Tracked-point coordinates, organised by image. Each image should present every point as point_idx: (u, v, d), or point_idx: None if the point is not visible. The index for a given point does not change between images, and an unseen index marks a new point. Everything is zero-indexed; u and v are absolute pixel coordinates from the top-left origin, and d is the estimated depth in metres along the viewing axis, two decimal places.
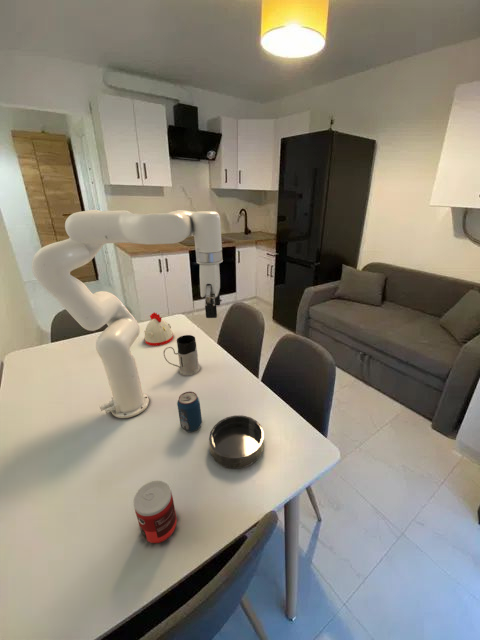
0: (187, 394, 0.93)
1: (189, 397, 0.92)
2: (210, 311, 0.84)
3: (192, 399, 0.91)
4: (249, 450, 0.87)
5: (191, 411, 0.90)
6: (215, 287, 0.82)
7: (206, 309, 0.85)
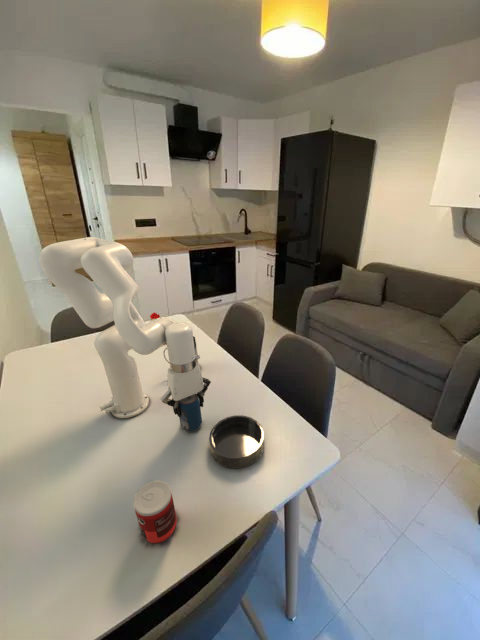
0: None
1: (189, 397, 0.92)
2: (174, 409, 0.90)
3: (192, 399, 0.91)
4: (249, 450, 0.87)
5: (191, 411, 0.90)
6: (173, 393, 0.86)
7: None
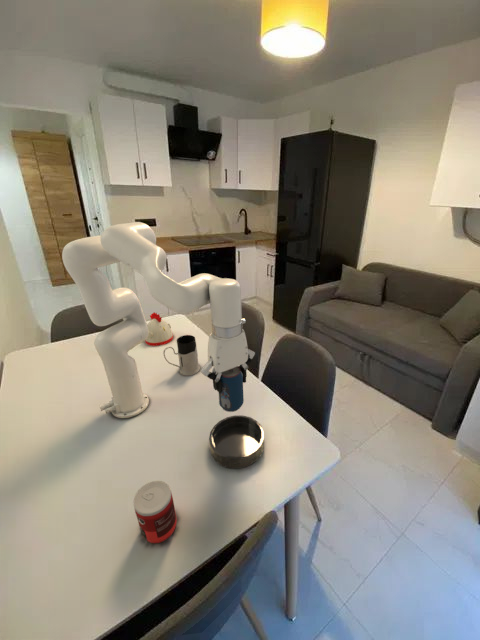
0: None
1: (231, 370, 0.78)
2: (214, 384, 0.77)
3: (235, 372, 0.78)
4: (249, 450, 0.87)
5: (235, 386, 0.77)
6: (215, 363, 0.72)
7: None
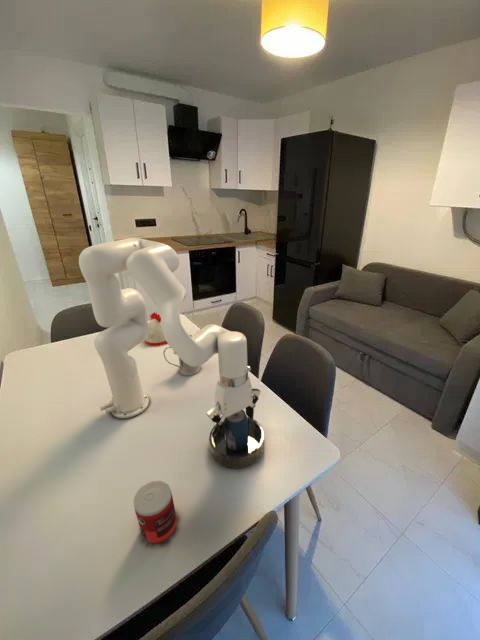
0: None
1: (237, 414, 0.84)
2: (217, 426, 0.81)
3: (240, 417, 0.84)
4: (249, 450, 0.87)
5: (240, 430, 0.83)
6: (222, 409, 0.78)
7: None
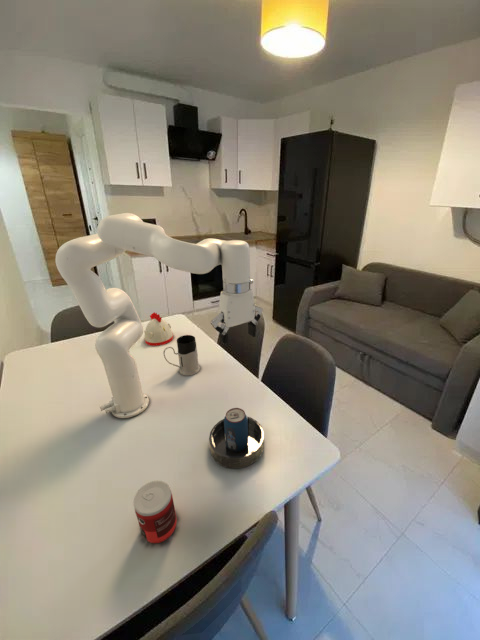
0: (234, 411, 0.86)
1: (237, 414, 0.84)
2: (221, 338, 0.84)
3: (240, 417, 0.84)
4: (249, 450, 0.87)
5: (240, 430, 0.83)
6: (226, 317, 0.80)
7: None
